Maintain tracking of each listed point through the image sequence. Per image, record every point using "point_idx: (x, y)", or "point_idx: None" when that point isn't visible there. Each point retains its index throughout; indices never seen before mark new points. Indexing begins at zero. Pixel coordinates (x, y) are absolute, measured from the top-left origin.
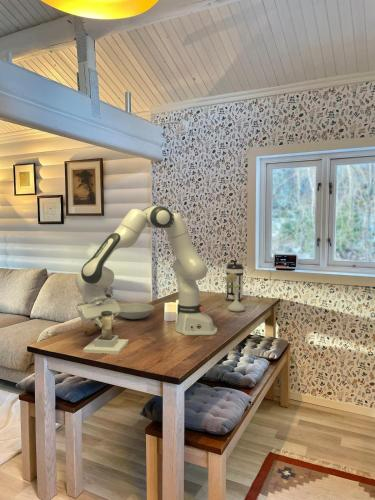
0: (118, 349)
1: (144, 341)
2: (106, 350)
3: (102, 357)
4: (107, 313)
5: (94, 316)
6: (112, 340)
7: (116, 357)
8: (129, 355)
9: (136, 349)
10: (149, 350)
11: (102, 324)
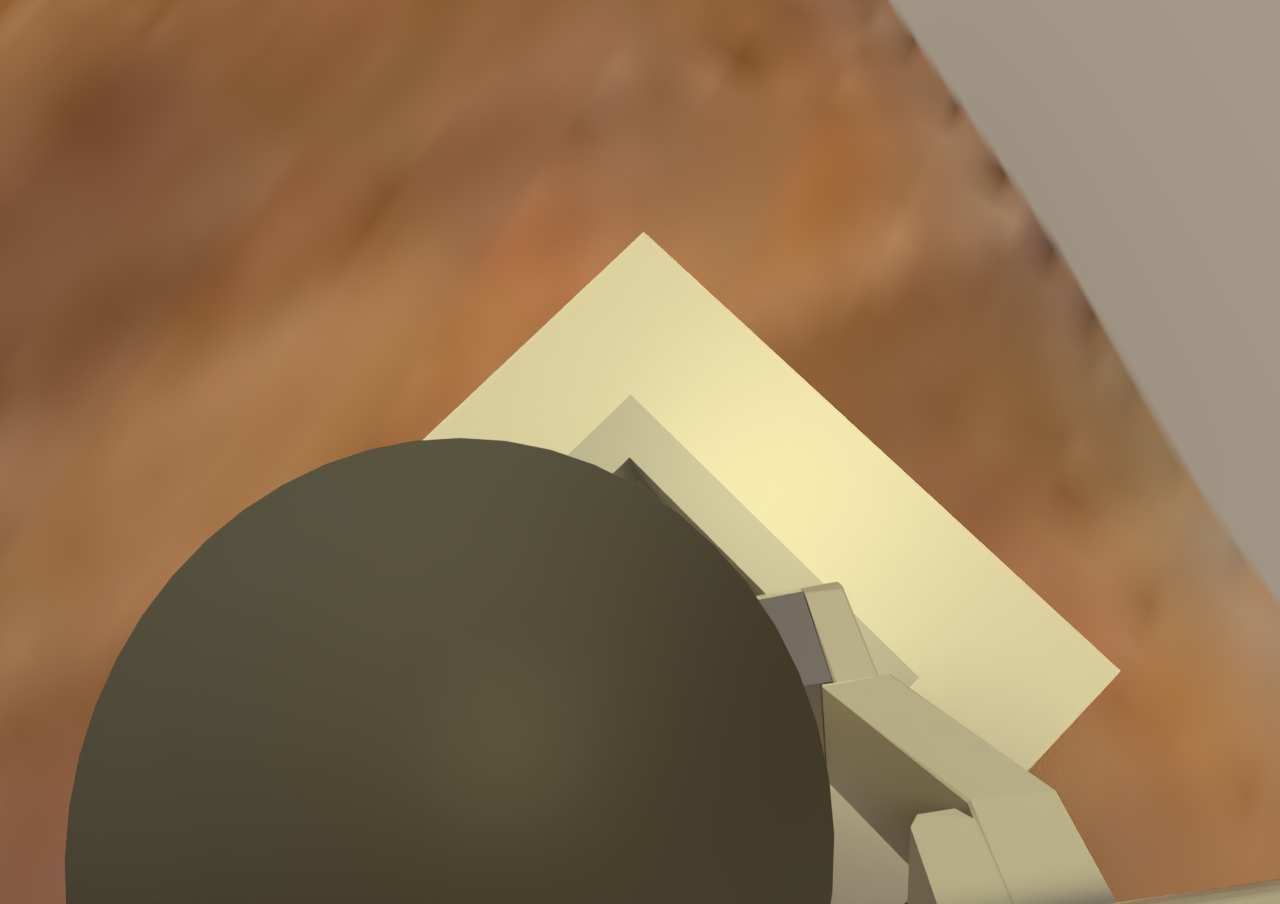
0: (606, 290)
1: (3, 543)
2: (786, 363)
3: (897, 276)
4: (563, 454)
5: (1264, 900)
6: (614, 428)
7: (726, 168)
8: (540, 138)
9: (324, 291)
10: (213, 156)
11: (788, 606)
